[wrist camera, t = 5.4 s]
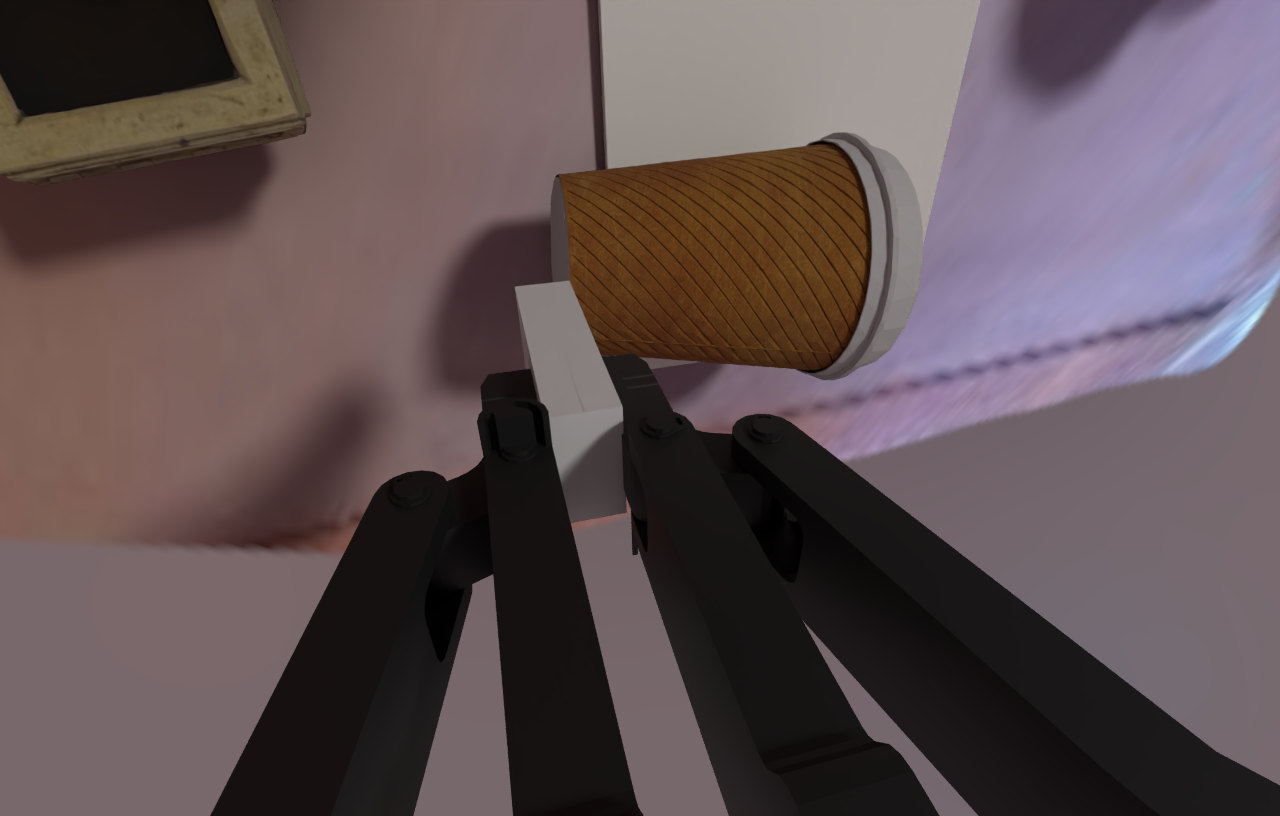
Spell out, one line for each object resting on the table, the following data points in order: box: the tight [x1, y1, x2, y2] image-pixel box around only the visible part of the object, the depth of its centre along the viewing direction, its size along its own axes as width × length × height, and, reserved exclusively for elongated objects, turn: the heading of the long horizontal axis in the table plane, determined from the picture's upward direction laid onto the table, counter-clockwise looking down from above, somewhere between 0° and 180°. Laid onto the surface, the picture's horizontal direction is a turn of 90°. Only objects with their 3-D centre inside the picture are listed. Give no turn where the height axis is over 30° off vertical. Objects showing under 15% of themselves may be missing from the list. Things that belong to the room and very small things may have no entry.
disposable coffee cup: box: [550, 132, 923, 380], centre depth 24 cm, size 10×10×12 cm
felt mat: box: [598, 0, 981, 369], centre depth 29 cm, size 16×16×1 cm
